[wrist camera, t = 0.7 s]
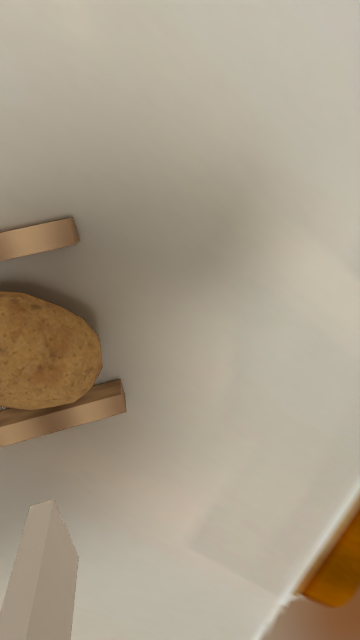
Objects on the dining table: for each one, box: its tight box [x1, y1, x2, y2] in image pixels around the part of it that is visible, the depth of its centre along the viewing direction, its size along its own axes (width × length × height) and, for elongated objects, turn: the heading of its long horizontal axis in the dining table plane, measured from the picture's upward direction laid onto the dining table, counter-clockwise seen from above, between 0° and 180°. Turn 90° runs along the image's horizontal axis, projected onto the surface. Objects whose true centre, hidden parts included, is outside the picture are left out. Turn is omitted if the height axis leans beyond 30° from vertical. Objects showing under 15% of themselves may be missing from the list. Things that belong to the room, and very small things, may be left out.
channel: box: [0, 217, 126, 447], centre depth 30 cm, size 14×18×3 cm
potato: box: [0, 292, 102, 410], centre depth 28 cm, size 10×14×8 cm
